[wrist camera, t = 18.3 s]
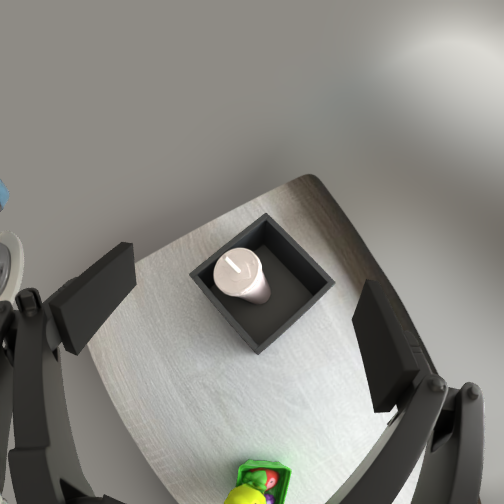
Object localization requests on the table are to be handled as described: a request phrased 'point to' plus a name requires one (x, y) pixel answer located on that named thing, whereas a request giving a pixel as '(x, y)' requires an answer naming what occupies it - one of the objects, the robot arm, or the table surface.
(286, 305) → the bin
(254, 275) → the smoothie
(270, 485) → the fruit basket
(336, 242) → the table surface
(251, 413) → the table surface
